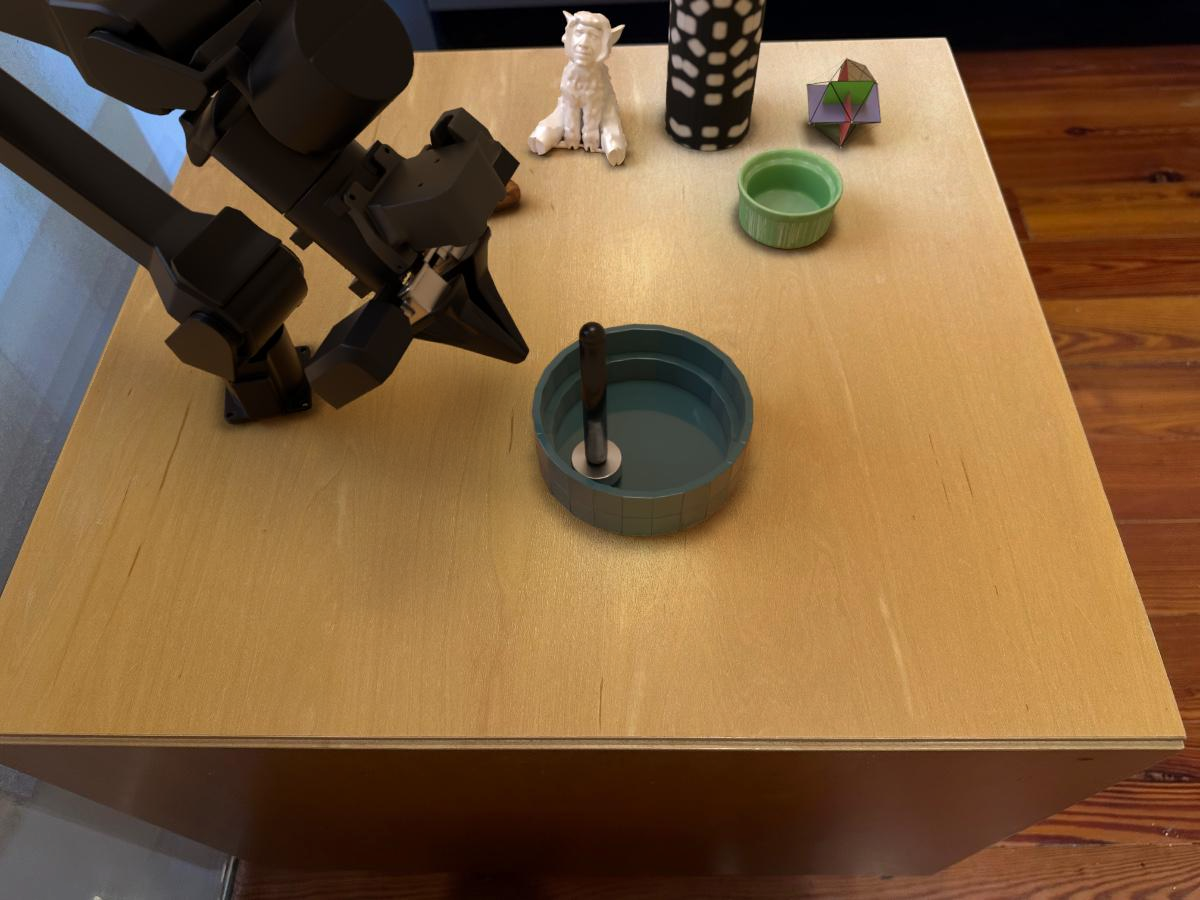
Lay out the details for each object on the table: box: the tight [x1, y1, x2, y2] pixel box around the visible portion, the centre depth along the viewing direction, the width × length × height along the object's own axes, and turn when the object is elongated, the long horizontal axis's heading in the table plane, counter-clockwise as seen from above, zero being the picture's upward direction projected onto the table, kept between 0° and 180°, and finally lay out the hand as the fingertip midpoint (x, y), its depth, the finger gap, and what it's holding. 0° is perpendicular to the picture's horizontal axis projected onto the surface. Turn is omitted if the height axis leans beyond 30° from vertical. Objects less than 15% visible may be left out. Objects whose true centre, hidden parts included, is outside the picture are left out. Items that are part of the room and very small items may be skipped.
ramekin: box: [737, 147, 844, 250], centre depth 80 cm, size 9×9×4 cm
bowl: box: [531, 323, 755, 538], centre depth 65 cm, size 15×15×6 cm
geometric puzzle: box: [806, 57, 883, 149], centre depth 86 cm, size 7×7×8 cm
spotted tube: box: [664, 0, 767, 152], centre depth 82 cm, size 8×8×20 cm
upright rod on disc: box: [571, 321, 622, 486], centre depth 59 cm, size 4×4×15 cm
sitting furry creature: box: [527, 10, 628, 167], centre depth 85 cm, size 10×9×12 cm
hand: (523, 358), depth 57 cm, fingers closed
